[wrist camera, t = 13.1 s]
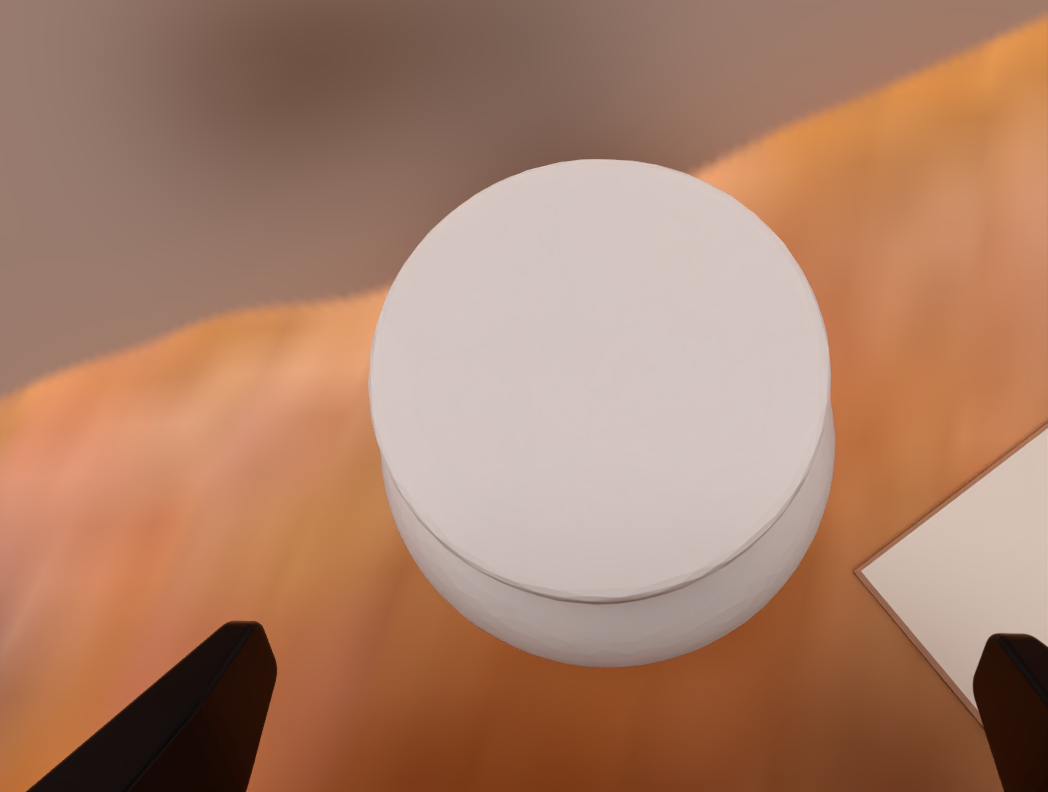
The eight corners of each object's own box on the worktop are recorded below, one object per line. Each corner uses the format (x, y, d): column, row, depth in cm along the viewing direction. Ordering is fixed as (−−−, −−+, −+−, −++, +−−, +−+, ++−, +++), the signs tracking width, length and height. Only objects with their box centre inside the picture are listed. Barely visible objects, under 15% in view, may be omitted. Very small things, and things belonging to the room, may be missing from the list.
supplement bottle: (552, 341, 21) (466, -8, 8) (772, 441, 19) (1053, 199, 7) (441, 551, 20) (155, 505, 7) (665, 674, 18) (777, 872, 6)
